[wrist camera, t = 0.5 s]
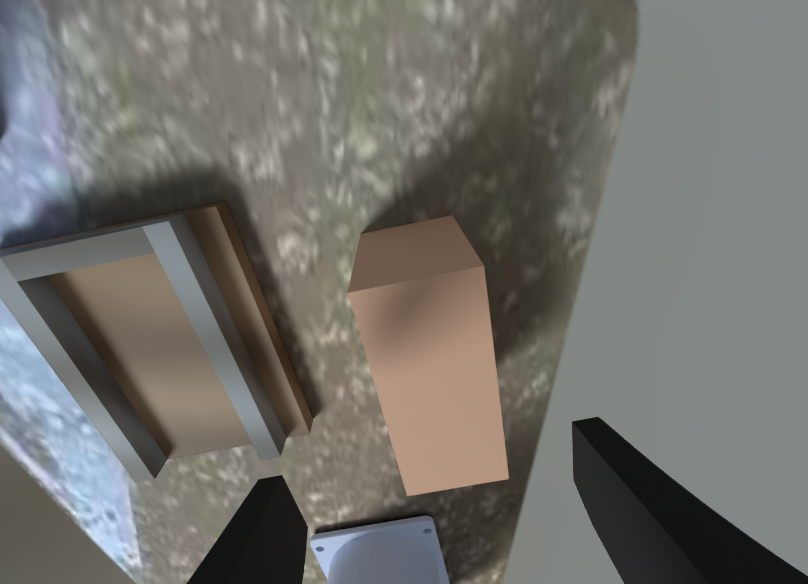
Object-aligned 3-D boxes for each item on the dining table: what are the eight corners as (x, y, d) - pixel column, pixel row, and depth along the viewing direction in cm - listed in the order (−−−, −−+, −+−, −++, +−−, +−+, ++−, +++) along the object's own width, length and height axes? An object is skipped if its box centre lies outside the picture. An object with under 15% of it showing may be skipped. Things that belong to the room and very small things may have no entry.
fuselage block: (476, 380, 20) (509, 478, 15) (401, 393, 20) (407, 496, 15) (452, 214, 16) (484, 265, 11) (360, 233, 17) (347, 293, 11)
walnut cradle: (313, 419, 21) (305, 452, 19) (137, 451, 21) (112, 486, 19) (225, 200, 16) (202, 214, 14) (-3, 249, 16) (-58, 269, 14)
